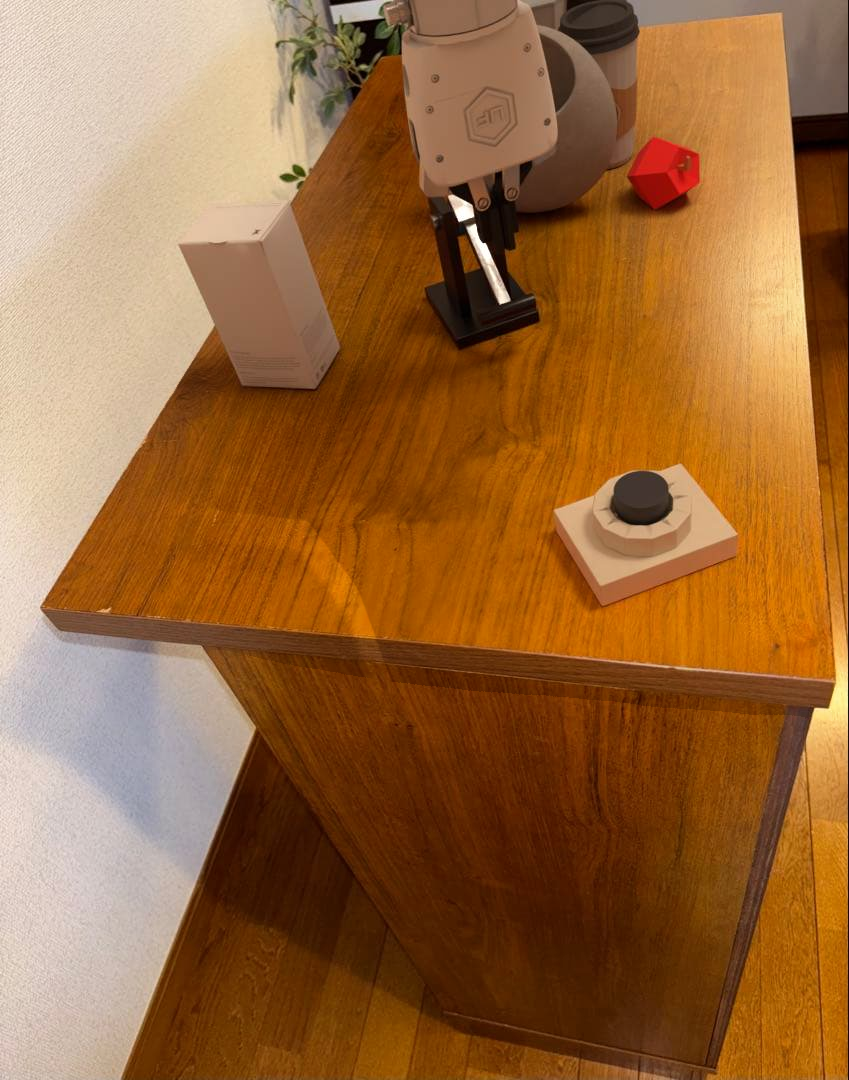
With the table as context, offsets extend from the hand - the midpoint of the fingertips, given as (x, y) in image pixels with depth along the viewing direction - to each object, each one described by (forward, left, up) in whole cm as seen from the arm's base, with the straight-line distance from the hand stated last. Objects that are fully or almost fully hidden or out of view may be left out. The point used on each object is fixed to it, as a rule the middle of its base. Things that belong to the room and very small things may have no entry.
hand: (500, 244), depth 79 cm
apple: (-23, -17, -12) cm, 31 cm away
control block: (0, +25, -11) cm, 27 cm away
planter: (-11, -23, -12) cm, 28 cm away
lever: (0, -6, -5) cm, 7 cm away
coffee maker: (-21, -41, -12) cm, 48 cm away
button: (0, +25, -8) cm, 26 cm away
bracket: (0, -9, -11) cm, 15 cm away
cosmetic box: (+19, -10, -12) cm, 24 cm away
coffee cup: (-22, -29, -12) cm, 38 cm away
